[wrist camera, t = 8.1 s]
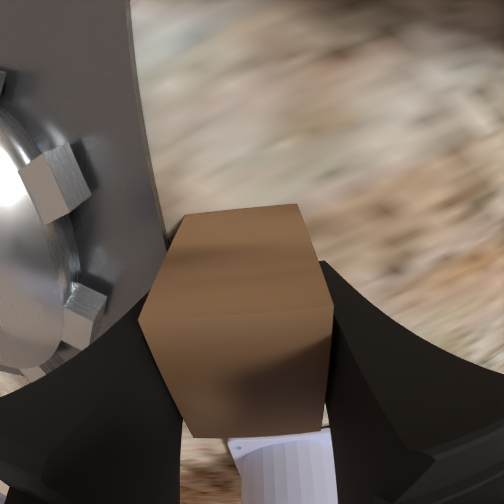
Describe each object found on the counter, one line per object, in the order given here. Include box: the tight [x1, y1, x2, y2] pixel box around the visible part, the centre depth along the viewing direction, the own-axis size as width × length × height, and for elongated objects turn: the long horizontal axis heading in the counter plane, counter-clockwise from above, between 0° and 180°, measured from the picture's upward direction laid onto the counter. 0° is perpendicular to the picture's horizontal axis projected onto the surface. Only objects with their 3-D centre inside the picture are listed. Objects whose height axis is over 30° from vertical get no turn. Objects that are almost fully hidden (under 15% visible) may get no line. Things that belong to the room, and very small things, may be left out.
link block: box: [138, 204, 334, 438], centre depth 9 cm, size 4×4×5 cm
